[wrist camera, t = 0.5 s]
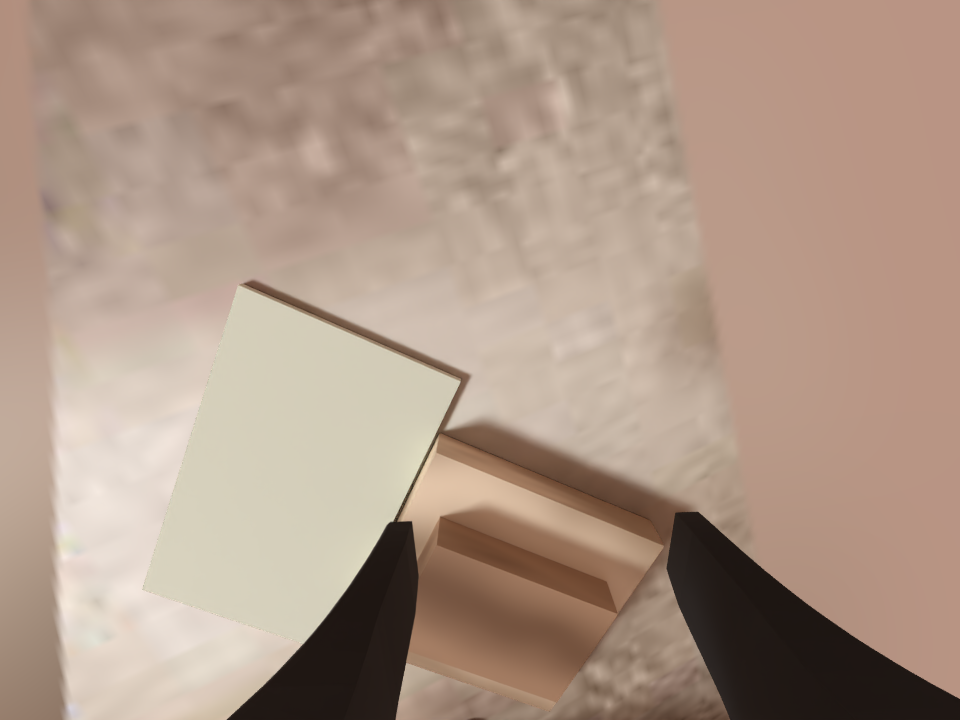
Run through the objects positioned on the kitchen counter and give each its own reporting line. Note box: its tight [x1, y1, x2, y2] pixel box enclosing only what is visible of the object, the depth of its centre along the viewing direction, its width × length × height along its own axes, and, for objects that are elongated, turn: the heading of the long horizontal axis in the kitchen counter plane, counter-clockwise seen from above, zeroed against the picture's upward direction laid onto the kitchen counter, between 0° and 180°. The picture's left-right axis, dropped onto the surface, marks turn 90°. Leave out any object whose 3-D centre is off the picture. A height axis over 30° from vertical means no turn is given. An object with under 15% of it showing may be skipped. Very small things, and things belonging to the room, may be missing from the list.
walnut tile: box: [408, 517, 618, 703], centre depth 23 cm, size 6×9×2 cm, turn 65°
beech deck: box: [396, 433, 664, 712], centre depth 25 cm, size 12×12×2 cm
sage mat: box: [142, 284, 461, 644], centre depth 24 cm, size 18×11×1 cm, turn 155°
